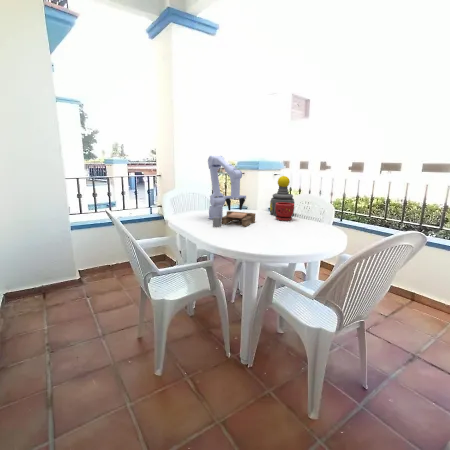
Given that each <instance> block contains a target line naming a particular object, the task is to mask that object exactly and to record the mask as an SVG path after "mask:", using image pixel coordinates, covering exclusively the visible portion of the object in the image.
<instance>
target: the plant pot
mask: <svg viewBox="0 0 450 450" xmlns="http://www.w3.org/2000/svg"><path fill="white" fill-rule="evenodd" d="M286 208H287V210H286ZM283 209H284V210H283ZM275 210H276V214H277V216H275V219H276V220H278V221H282V222H285V221H286V222H288V221H291V220H292V219H293V217H292V216H293V215H294V213H293V211H294V212H295V203H294V204H293V203H285V202H279V203H276V206H275ZM289 210H290V211H289ZM292 214H293V215H292Z"/></svg>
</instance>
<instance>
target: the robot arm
mask: <svg viewBox="0 0 450 450" xmlns="http://www.w3.org/2000/svg"><path fill="white" fill-rule="evenodd" d="M207 165H208V169H209V174H210V180H211V187H212V188H211V189H212V194H211V195H210V196H209V197H210V199H209V204H210V206H209V208H208V219H209V220H213V217H215V216H216V217H221V220H222V217H223V213H224V212H223V209H224V208H223V207H224V205H225V203H226V204H227V205H226V206H227V209H228V210H227V211H231V204H232V200H238V201H239V207H238V208H239V210H240V211H241V210H242V209H243V205H244V203H245V202H246V200H247V195H241V194H240V192H241V179H242V177H243V172H242V170H241V169H237V168H236V167H235V166H234V165H233V164H232V163H227V161H226V160H225V157H223V155H209V157H208V159H207ZM221 167H223V169H224V172H225V173H226V174H228V176H229V179H230V195H224V194H223V193H222V192H221V186H220V179H219V173H218V170H219V169H220V168H221Z"/></svg>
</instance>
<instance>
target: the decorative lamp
mask: <svg viewBox="0 0 450 450" xmlns="http://www.w3.org/2000/svg"><path fill="white" fill-rule="evenodd" d="M290 183H291V182H290V179H289V177H288V176H286V175H281V176H279V178H278V179H277V185H278V189H277V192H276V193H273V194H272V197H271V198H270V199H271V200H270V201H269V213H270V215H271V216H274V217H276V216H277V214H276V210H275V206H276V203H279V202H285V203H293V204H294V205H295V199H294V195H293V194H292V193H289V189H288V187H289V185H290ZM283 210H284V209H283ZM286 210H287V208H286ZM289 211H290V210H289ZM294 212H295V210H294V211H293V214H292V216H293V215H294Z"/></svg>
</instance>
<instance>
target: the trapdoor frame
mask: <svg viewBox="0 0 450 450" xmlns="http://www.w3.org/2000/svg"><path fill="white" fill-rule="evenodd" d="M231 213H244V214H247V216H245V217H244V218H234V217H228V215H229V214H231ZM231 222H241V227H243V228H244V227H246V228H247V227H248V226H249V225H251V224H252V223H253V224H255V223H256V213H255V212H254V213H253V212H245V211H242V212H241V211H233V210H232V211H231V210H230V211H229V210H227V211H226V215H224V216H222V219H221V225H225V226H226V225H228V224H230V223H231Z"/></svg>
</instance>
